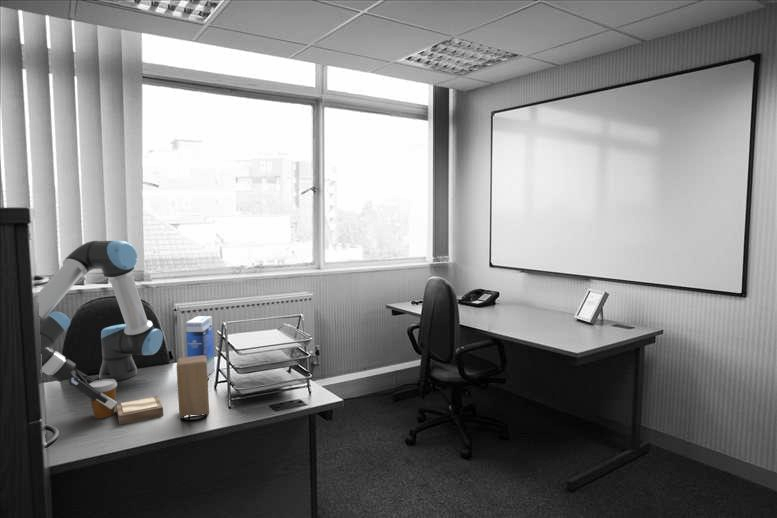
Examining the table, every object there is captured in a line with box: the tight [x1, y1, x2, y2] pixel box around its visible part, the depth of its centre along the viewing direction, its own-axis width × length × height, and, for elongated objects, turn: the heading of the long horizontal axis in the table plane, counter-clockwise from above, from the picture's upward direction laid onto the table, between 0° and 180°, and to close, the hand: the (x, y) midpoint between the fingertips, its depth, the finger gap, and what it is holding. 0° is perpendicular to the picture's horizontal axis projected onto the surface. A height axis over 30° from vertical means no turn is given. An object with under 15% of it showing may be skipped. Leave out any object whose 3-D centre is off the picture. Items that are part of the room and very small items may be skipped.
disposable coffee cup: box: [89, 379, 118, 419], centre depth 181 cm, size 10×10×12 cm
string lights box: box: [185, 315, 216, 377], centre depth 225 cm, size 13×8×26 cm, turn 0°
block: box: [176, 355, 210, 419], centre depth 181 cm, size 10×10×20 cm
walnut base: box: [115, 395, 164, 425], centre depth 182 cm, size 14×14×3 cm
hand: (113, 401), depth 183 cm, fingers open, 10 cm apart
